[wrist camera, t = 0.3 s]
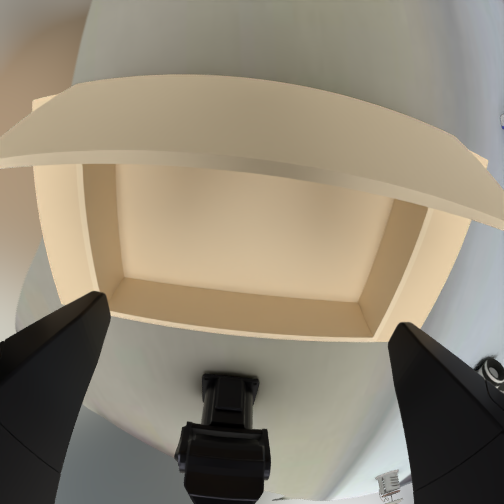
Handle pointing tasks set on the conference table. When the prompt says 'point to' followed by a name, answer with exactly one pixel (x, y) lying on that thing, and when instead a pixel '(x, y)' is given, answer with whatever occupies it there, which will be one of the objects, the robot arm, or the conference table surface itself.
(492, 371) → the camera
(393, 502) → the french press
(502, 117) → the hard drive
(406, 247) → the carton
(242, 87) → the kraft flap
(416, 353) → the robot arm
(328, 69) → the conference table surface
